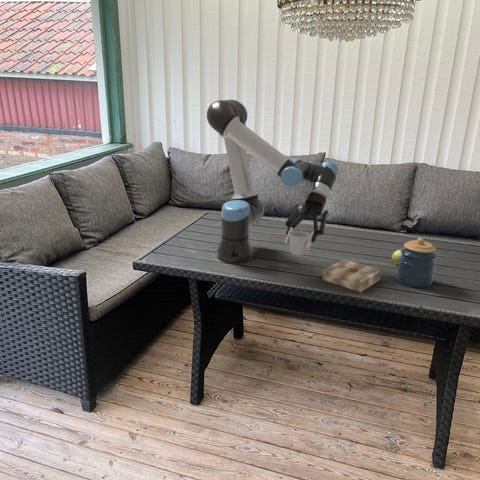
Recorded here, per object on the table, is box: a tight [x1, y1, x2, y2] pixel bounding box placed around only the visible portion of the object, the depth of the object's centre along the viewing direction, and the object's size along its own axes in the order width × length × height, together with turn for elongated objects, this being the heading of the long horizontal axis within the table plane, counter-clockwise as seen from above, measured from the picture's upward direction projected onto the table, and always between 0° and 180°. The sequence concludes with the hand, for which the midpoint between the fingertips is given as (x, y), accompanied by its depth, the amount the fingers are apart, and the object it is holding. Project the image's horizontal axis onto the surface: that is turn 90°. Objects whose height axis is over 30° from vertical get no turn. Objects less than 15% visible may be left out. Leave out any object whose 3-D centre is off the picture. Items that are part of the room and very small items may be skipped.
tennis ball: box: [391, 249, 402, 266], centre depth 191 cm, size 6×7×7 cm
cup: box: [288, 230, 311, 256], centre depth 174 cm, size 11×8×8 cm
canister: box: [396, 237, 438, 289], centre depth 172 cm, size 13×13×18 cm
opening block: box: [322, 258, 382, 293], centre depth 173 cm, size 16×16×4 cm
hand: (296, 245), depth 172 cm, fingers closed on cup, 8 cm apart
